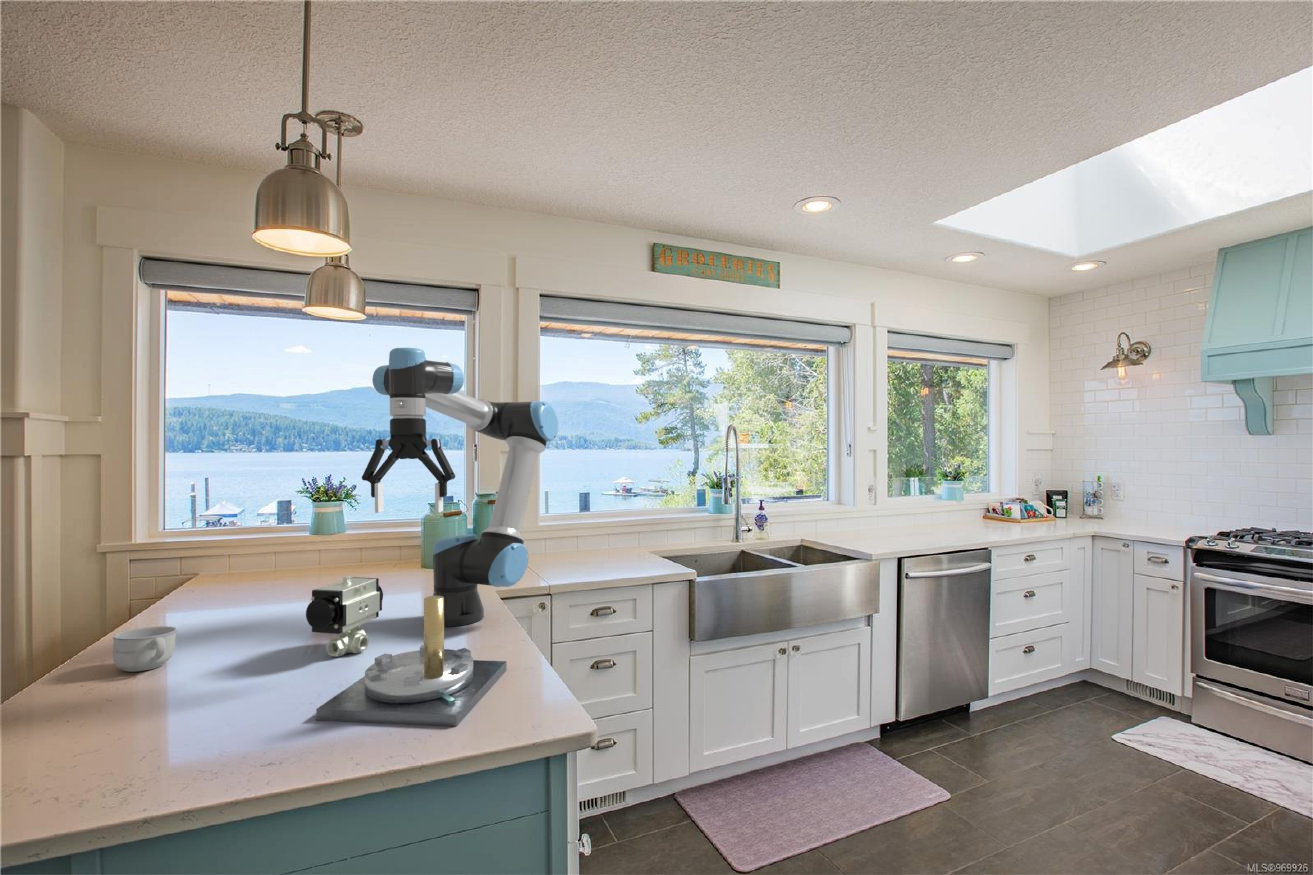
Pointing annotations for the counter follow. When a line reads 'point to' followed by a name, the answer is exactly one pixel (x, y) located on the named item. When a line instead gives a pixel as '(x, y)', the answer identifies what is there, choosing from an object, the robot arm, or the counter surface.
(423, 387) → the robot arm
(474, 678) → the base plate
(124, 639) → the teacup
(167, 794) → the counter surface
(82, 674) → the counter surface
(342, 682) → the counter surface
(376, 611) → the ball valve
